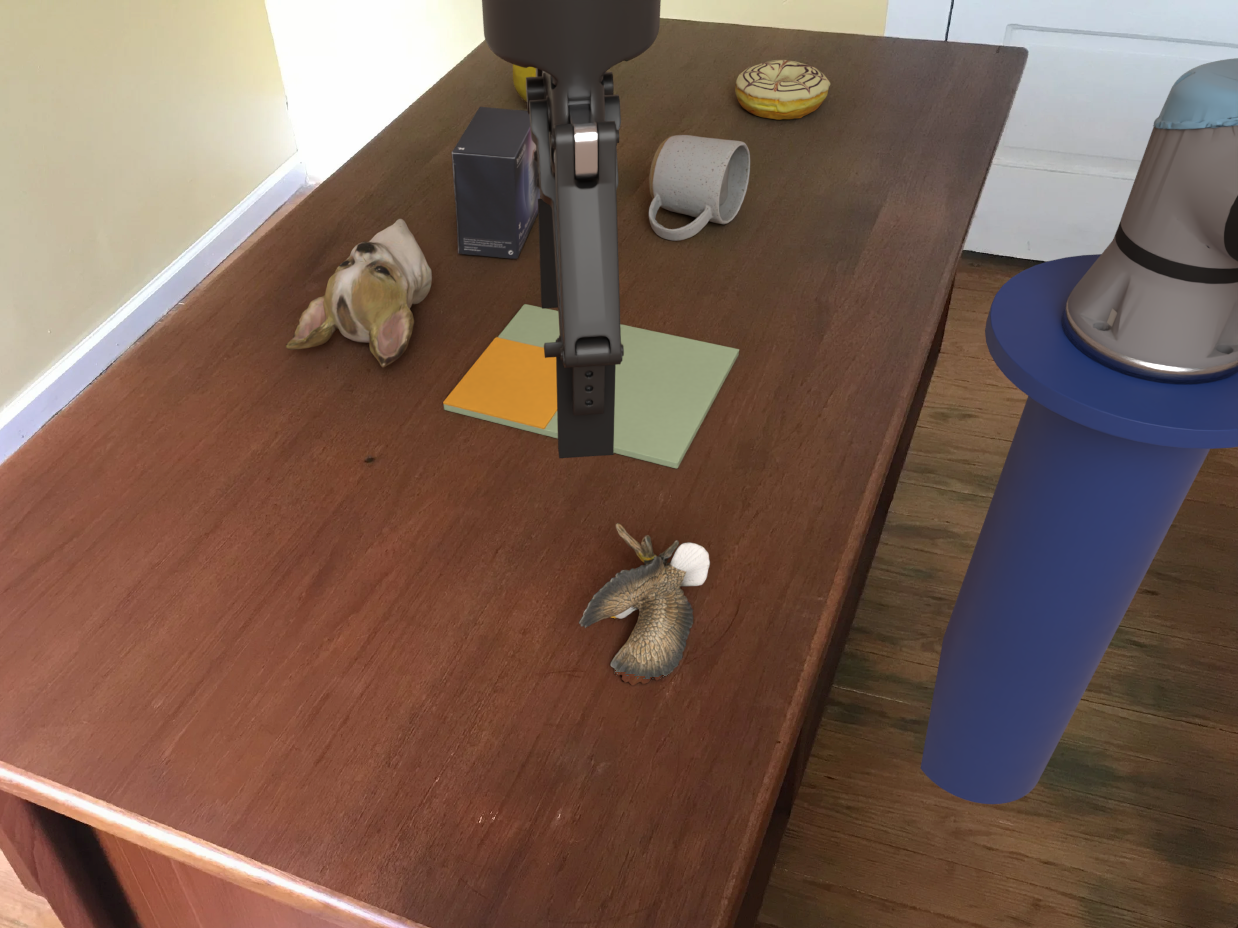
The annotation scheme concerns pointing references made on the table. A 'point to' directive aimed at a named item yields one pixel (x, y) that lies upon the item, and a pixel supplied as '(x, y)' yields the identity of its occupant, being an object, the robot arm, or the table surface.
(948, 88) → the table surface
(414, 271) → the ceramic sculpture
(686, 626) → the eagle figurine
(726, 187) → the ceramic mug
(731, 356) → the corner mat
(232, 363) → the table surface
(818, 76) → the decorated donut
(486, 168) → the small box
